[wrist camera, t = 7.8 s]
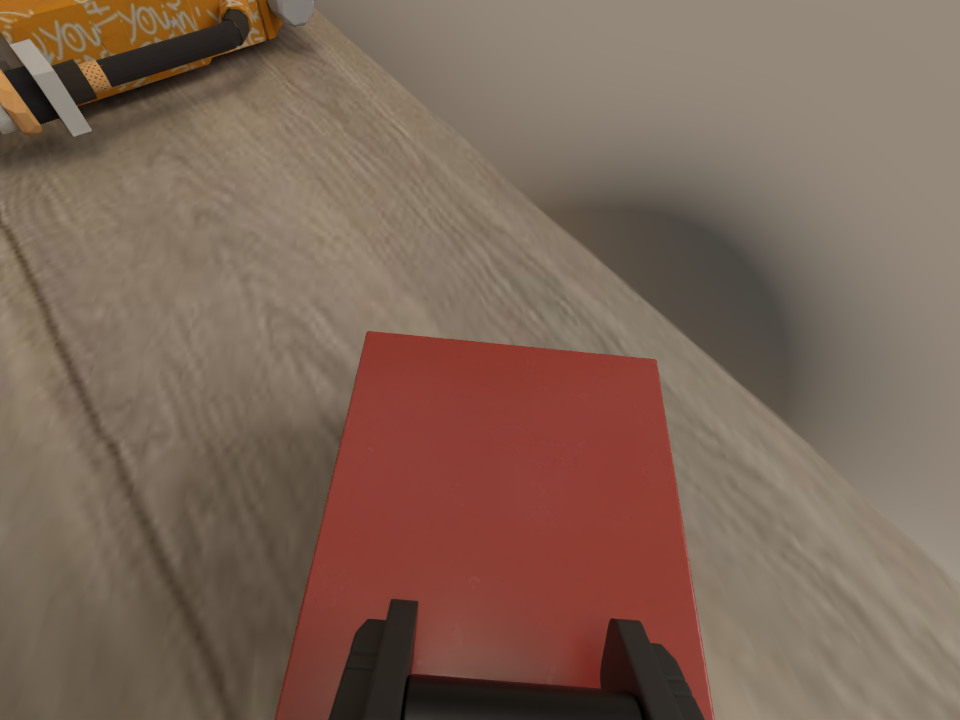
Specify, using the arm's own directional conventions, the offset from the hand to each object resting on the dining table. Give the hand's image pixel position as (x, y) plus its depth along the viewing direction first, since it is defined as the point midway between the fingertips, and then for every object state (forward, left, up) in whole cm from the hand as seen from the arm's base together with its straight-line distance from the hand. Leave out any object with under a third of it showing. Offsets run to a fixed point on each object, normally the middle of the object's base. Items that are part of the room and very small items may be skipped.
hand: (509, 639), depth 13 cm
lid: (-2, +2, -3) cm, 4 cm away
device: (-53, +8, -11) cm, 54 cm away
